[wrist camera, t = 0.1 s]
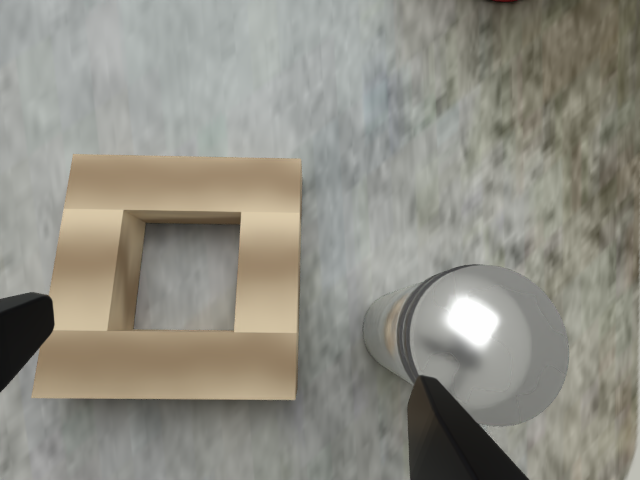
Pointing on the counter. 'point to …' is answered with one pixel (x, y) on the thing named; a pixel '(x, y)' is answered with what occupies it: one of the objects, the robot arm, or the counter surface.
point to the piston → (475, 340)
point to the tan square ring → (124, 270)
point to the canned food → (504, 0)
